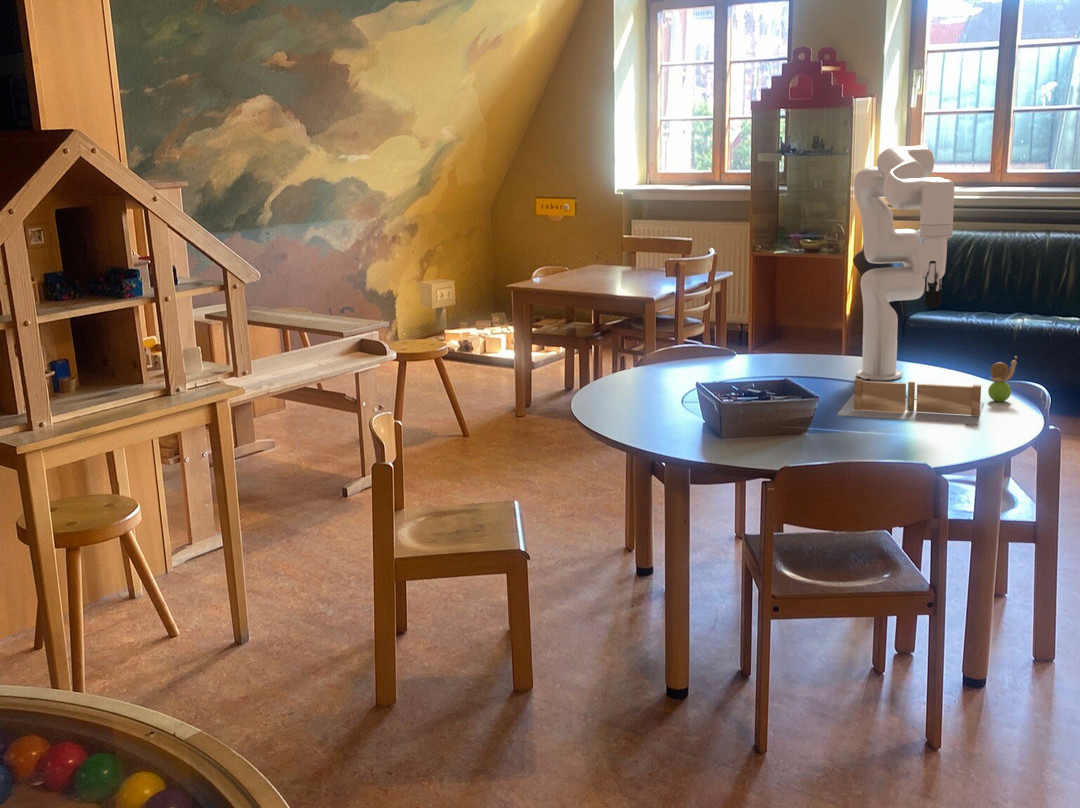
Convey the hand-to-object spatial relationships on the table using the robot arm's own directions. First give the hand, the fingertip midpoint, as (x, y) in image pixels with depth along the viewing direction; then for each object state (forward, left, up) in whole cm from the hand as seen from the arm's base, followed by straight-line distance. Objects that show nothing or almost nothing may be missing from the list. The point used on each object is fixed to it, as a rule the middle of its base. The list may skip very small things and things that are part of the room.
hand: (933, 305), depth 255 cm
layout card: (0, -4, -27) cm, 28 cm away
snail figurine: (-14, +16, -27) cm, 35 cm away
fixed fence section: (+4, -12, -27) cm, 29 cm away
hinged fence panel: (+4, +4, -26) cm, 27 cm away
